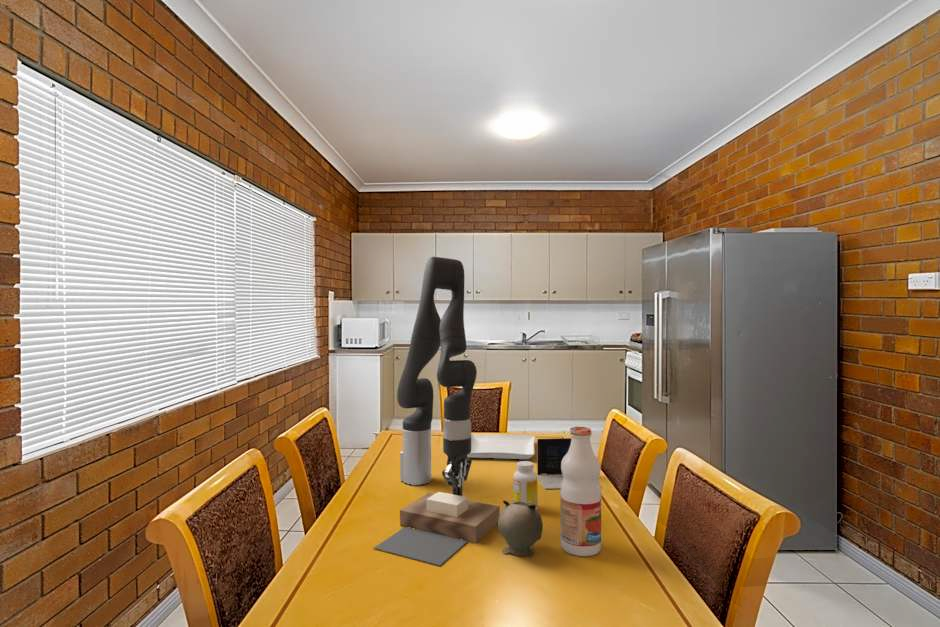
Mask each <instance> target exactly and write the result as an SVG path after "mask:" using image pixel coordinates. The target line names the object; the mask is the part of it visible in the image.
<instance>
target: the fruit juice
mask: <svg viewBox="0 0 940 627" xmlns="http://www.w3.org/2000/svg"><path fill="white" fill-rule="evenodd" d="M569 435H570V438H571V444H570V448H569V450H568V452H567V454H566V455H565V456H564V457H563V459H562V462H561V471H562V474H563V480H562V482H561V489H559V490H560V492H559V494H560V495H559V496H560V497H559V498H560V506H559V508H560V509H559V510H560V511H559V512H560V522H559V523H560V531H559V532H560V534H559V535H560V538H559V539H560V545H561V548H562V550H564V552H566V553H568V554H570V555H573V556H578V557H591V556H592V557H593V556H595V555H597V554H599V553H600V551H601V548H602V485H601V483H600V480H599V479H600V475H601V470H602V468H601V467H602V466H601V462H600V460H599V458H598V457H597V455H596V454H595V453H594V451H593V449H592V444H591V438H592V429H591V428H589V427H585V426H572V427H570V428H569Z"/></svg>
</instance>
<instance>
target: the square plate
mask: <svg viewBox="0 0 940 627" xmlns="http://www.w3.org/2000/svg"><path fill="white" fill-rule="evenodd" d="M535 442H536V436H535V435H523V434H521V435H520V434H505V433H503V434H501V433H482V434H481V433H480V434H479V433H477V434H476V433H474V434H473V433H471V453H470V454H468V455H467V458H470V459H484V458H494V459H493V460H511V459H519V460H529V459H531V458H532V457H533V456H534V455H536V452H535V450H536V449H535Z"/></svg>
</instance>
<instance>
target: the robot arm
mask: <svg viewBox="0 0 940 627" xmlns="http://www.w3.org/2000/svg"><path fill="white" fill-rule="evenodd" d="M436 289H437V290H446V291H451V292H450V293H451V300H450V303H449V304H448V306H447V308H446V310H445V312H444V313H443V315H442V316H441V317H440V315H439V311H438V310H437V307H436V304H435V293H436V292H435V291H436ZM420 292H421V293H420V298H419V303H418V304H419V305H418V309H417V313H416V317H415V322H414V324H413V329H412V333H411V338H410V343H409V348H408V353H407V358H406V361H405V364H404V368H403V370H402V373H401V377H400V380H399V383H398V387H397V391H396V400H397V403H398V406H399V407H401V408H403V409H415V408H416V409H415V411H414V412H413V413H412V414H410V415H409V416H407V417H406V418H404V419H403V421H402V450H401V451H400V453H399V455H400V456H399V458H400V459H399V461H400V462H399V467H400V468H399V469H400V470H399V471H400V474H399V478H400V480H401V481H400V482H402V481H404V482H405V483H407V484H406V485H409V484H411V486H421V485H422V484H423V485H427V484H429V483H431V481H432V423H433V422H432V421H433V417H434V416H433V414H434V413H433V411H434V410H433V409H434V387H433V385H432V381H431V380H430V379H429V378H424V377H423V378H419V376H420V374H421V372H422V371H423V369H424V368H425V367H426V366H427V365H428V364H429V363H430V362H431V360H433V359H434V357H435V356H436V354H437V353H438V352H439V350H440V356H439V361H438V366H437V371H436V379H437V382H438V383H439V385H440V386H441V387H442V388H458V387H461V389H460V391H458V393H455V394H451V395H449V396H445V398H444V399H443V423H442V424H443V425H442V441H443V442H442V451H443V452H442V453H444V455H446V456H447V460H446V470H445V469H443V470H442V472H441V475H442V477H443V478H444V480H445V482H446V485H447V486H448V487H452V494H453V495H458V496H463V486H464V484H465V482H466V481H467V480H468V476H469V473H470V471H471V470H470V469H471V466H472V461H473V460H472V459H471V458H470V459H468V457H467V455H468V454H470V453H471V434H472V423H471V400H472V394H473V389H474V387H475V383H476V379H477V375H478V371H477V367H476V364H475V363H474V362H473V360H470V359H462V360H459V359H458V360H456V359H455V360H450V358H454V357H457V356H460V355H462V354H464V353H465V352H466V351H467V338H466V337H467V336H466V330H465V321H464V320H465V319H464V315H465V314H464V310H465V309H464V308H465V304H464V303H465V267H464V265H463V263H462V262H461V261H460V260H458V259H455V258H448V257H439V256H431V257H429V258H428V259H427V262H426V263H425V267H424V272H423V280H422V285H421V291H420ZM404 482H403V483H404ZM405 483H404V484H405ZM426 483H427V484H426ZM463 497H464V496H463Z"/></svg>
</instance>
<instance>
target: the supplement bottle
mask: <svg viewBox="0 0 940 627" xmlns="http://www.w3.org/2000/svg"><path fill="white" fill-rule="evenodd" d="M534 466H535V465H534V463H533V462H532V461H529V460H523V461H522V460H519V461H517V462H516V469H517V470H516V471H515V472H514V473H513V475H512V476H513V478H512V480H513V503H515V502H524V503H526V504H528V505H533V504H534V505H535V507H536V508H535V510H536V511H538V504H539V502H538V477H537V476H538V475H537V472H535V471H534V468H535V467H534Z"/></svg>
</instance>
